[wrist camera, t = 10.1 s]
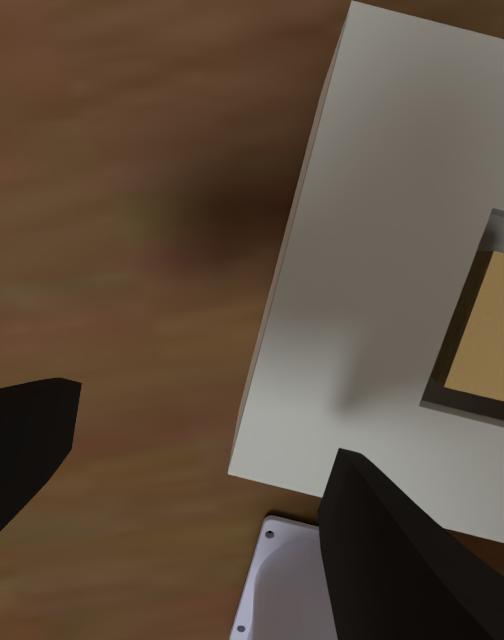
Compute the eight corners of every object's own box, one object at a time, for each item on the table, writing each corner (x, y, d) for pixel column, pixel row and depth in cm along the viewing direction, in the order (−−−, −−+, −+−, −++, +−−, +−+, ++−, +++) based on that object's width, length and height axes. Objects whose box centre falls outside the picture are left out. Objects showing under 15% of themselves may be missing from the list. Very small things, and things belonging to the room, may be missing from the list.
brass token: (441, 359, 18) (508, 402, 13) (395, 348, 18) (444, 386, 13) (476, 262, 17) (563, 267, 12) (427, 250, 17) (494, 250, 12)
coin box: (520, 476, 19) (630, 574, 13) (240, 405, 19) (227, 473, 13) (657, 177, 16) (881, 135, 10) (321, 91, 16) (352, 0, 10)
